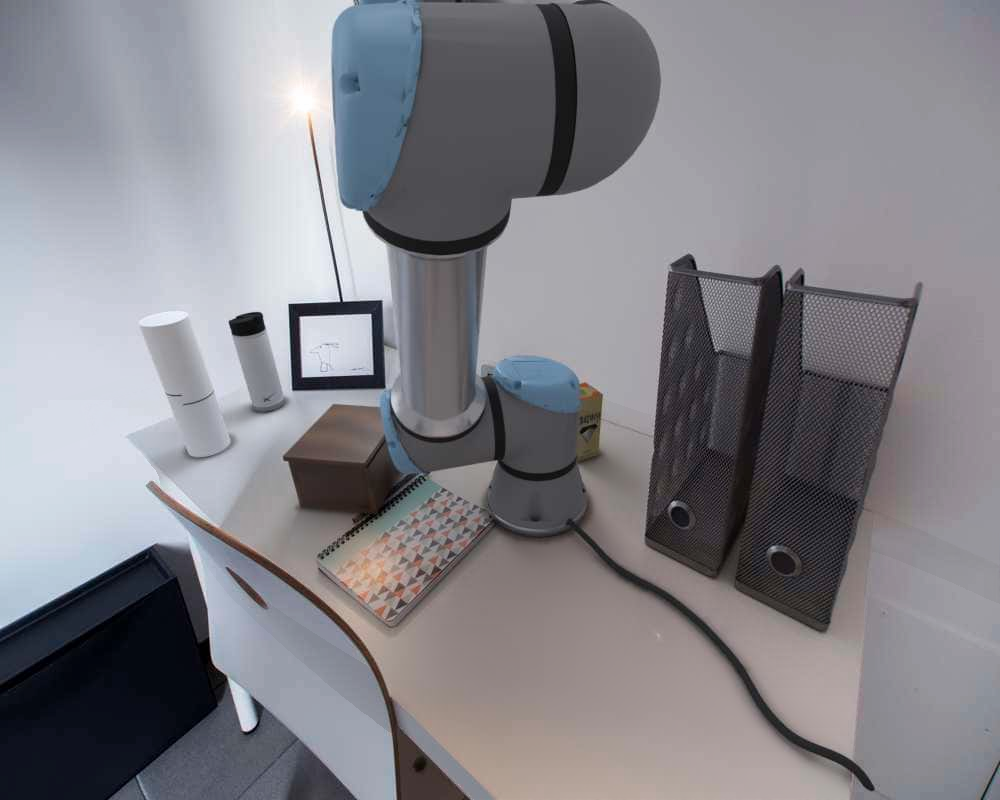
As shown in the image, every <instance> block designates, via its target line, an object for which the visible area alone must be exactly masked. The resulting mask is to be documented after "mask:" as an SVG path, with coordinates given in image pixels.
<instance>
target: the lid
mask: <svg viewBox="0 0 1000 800" xmlns="http://www.w3.org/2000/svg"><path fill="white" fill-rule="evenodd" d="M385 438H386V437H385V433H384V428H383V423H382V417H381V409H380V406H373V405H371V406H370V405H355V404H340V403H333V404H331V405H330V406H329V408H327V410H326V411H324V413H322V415H321V416H319V418H318V419H317V420H316V421H315V422H314V423H313V424H312V425H311V426H310V428H308V429H307V430H306V432H304V433H303V434H302V436H300V437H299V439H298V440H297V441H296V442H295V443H294V444H293V445H292V446H291V447H290V448H289V449H288V450H287V451H286V452H285V453H284V454H283V455H282V460H283V462H288V461H290V462H301V463H313V464H325V465H336V466H348V467H359V468H365V467H366V466H367V464H368V463H369V462H370V460H371V459H372V457H373V456H374V454H375V453H376V451H377V450H378V449H379V447H380V446H381V444H382V443H383V441H384V440H385Z"/></svg>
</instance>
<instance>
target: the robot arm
mask: <svg viewBox="0 0 1000 800" xmlns="http://www.w3.org/2000/svg"><path fill="white" fill-rule="evenodd" d="M352 1H353V5H351V6H349V7H347V8H345V9H344V10H342V11H341V12H340V13H339V15H338V16H337V18H336V19H335V21H334V24H333V26H332V30H331V39H330V67H331V68H330V69H331V71H330V73H331V74H330V75H331V99H332V115H333V116H332V117H333V126H334V146H335V149H334V150H335V152H334V153H335V166H336V175H337V187H338V194H339V200H340V203H341V204H342V206H344V207H345V208H346V209H349V210H354V211H357V212H362V217H363V219H364V222H365V224H366V226H367V227H368V229H369V231H370V232H371V233H372V234H373V236H374V237H376V238H377V239H378V240H380V241H381V243H383V244H385V248H386V256H387V257H386V258H387V266H388V274H389V283H390V284H389V285H390V291H391V301H392V309H393V317H394V325H395V326H394V327H395V336H396V344H397V351H398V353H397V354H398V361H399V370H400V373H399V374H398V375H397V377H396V378H395V380H394V382H393V384H392V387H391V388H389V389H385V390H383V391H382V393H381V394H380V399H379V407H380V409H381V417H382V423H383V428H384V433H385V437H386V440H387V443H388V448H389V452H390V455H391V458H392V461H393V463H394V465H395V467H396V468H397V470H398V471H400V474H402V475H416V474H422V475H426V474H430V473H432V472H438V471H443V470H448V469H449V470H451V469H453V468H454V469H456V468H461V467H466V466H470V465H471V466H472V465H478V464H483V463H488V462H496V464H495V466H494V469H493V473H492V476H491V479H490V481H489V484H488V486H487V491H486V506H487V510H488V513H489V514H490V516H491V518H492V520H494V522H495V523H497V524H498V525H499V526H500V527H502V528H504V529H505V530H507V531H509V532H511V533H514V534H517V535H521V536H526V537H533V538H535V537H536V538H541V537H543V538H544V537H551V536H556V535H560V534H562V533H565V532H567V531H569V530H571V529H573V531H574V532H576V534H577V535H579V537H580V538H581V539H583V541H585V542H586V543H587V545H589V546H590V547H591V548H592V550H594V552H595V553H596V554H597V555H598V557H600V558H601V560H603V561H604V562H605V564H607V565H608V566H609V567H610V568H611V569H613V570H614V571H616V573H618V574H620V575H621V576H622V577H624V578H626V579H628V580H629V581H631V582H633V583H634V584H637V585H639V586H640V587H643V588H645V589H647V590H649V591H650V592H652V593H654V594H655V595H656V596H657V595H658V596H659V597H660V598H662V599H663V600H665V601H667V602H668V603H669V604H671V605H672V606H673V607H674V608H676V609H677V610H679V611H680V612H681V613H682V614H683V615H685V617H687V618H688V619H689V620H690V621H691V622H693V623H694V624H695V625H696V626H697V627H698V629H700V630H701V631H702V632H703V633H704V634H705V635H706V636H707V637H708V638H709V639H710V640H711V641H712V642H713V643H714V645H715V646H716V647H717V648H718V649H719V650H720V652H721V653H722V654H723V655H724V656H725V657H726V658H727V659H728V661H729V662H730V664H731V665H732V666H733V668H734V669H735V670H736V672H737V673H738V675H739V677H740V678H741V680H742V683H743V684H744V685H745V688H746V690H747V691H748V693H749V694H750V696H751V698H752V700H753V701H754V703H755V705H756V706H757V707H758V709H759V710H760V712H761V713H762V714H763V716H764V717H765V718H766V720H767V721H768V722H769V723H770V724H771V725H772V726H773V727H774V728H775V729H776V731H777V732H779V733H780V734H781V735H782V736H783V737H784V738H786V739H787V740H788V741H790V742H791V743H793V744H794V745H796V746H798V747H799V748H801V749H803V750H805V751H807V752H810V753H811V754H814V755H816V756H819V757H822V758H824V759H826V760H829V761H831V762H834V763H836V764H838V765H840V766H842V767H844V768H845V769H846V770H848V771H849V772H850V773H851V774H853V775H854V776H855V778H857V779H858V781H859V782H860V784H861V785H862V786H863V787H864V789H866V791H869V792H874V791H875V786H874V784H873V782H872V781H871V779H870V777H869V776H868V774H867V773H866V772H865V771H864V770H863V769H862V768H861V766H860V765H858V764H857V763H856V762H855V761H853V760H852V759H851V758H849V757H847V756H846V755H844V754H842V753H840V752H838V751H835V750H834V749H831V748H829V747H825V746H823V745H821V744H817V743H816V742H813V741H811V740H808V739H806V738H804V737H802V736H800V735H798V734H797V733H796V732H794V731H793V730H791V729H790V728H789V727H788V726H787V725H785V723H783V722H782V721H781V719H779V718H778V717H777V716H776V714H775V713H774V712H773V711H772V709H771V708H770V707H769V706H768V704H767V703H766V701H765V700H764V698H763V697H762V695H761V694H760V692H759V690H758V689H757V687H756V685H755V683H754V681H753V680H752V678H751V676H750V675H749V673H748V672H747V670H746V668H745V667H744V665H743V664H742V662H741V661H740V659H739V658H738V657H737V656H736V655H735V653H734V652H733V651H732V649H730V648H729V646H728V645H727V644H726V643H725V641H723V640H722V638H720V636H719V635H718V634H717V633H716V632H715V631H714V630H713V629H712V628H711V627H710V626H709V625H708V624H707V623H706V622H705V621H703V619H702V618H700V616H698V615H697V614H696V613H695V612H694V611H693V610H691V609H690V608H689V607H687V606H686V605H685V604H684V603H683V602H681V601H680V600H678V599H677V598H676V597H675V596H673V594H671V593H669V592H667V591H666V590H664V589H663V588H661V587H659V586H657V585H655V584H654V583H652V582H650V581H648V580H646V579H644V578H642V577H640V576H638V575H636V574H634V573H632V572H630V571H629V570H627V569H626V568H625V567H622V566H621V565H619V563H617V562H616V561H614V559H613V558H611V557H610V556H609V555H608V554H607V553H606V552H605V551H604V550H603V549H602V548H601V547H600V546H599V544H598V543H596V541H595V540H594V539H593V538H592V537H591V536H590V535H589V534H588V533H587V532H586V531H584V530H583V528H581V526H580V525H578V524H579V523H580V522H581V521H582V520H583V517H584V516H585V514H586V511H587V503H588V496H587V495H588V494H587V489H586V485H585V483H584V481H583V477H582V474H581V470H580V467H579V465H578V462H577V447H578V431H579V416H580V409H581V401H580V384H581V383H580V379H579V377H578V375H577V374H576V373H575V372H574V371H573V370H572V369H571V368H570V367H569V366H567V365H566V364H564V363H562V362H560V361H556V360H554V359H551V358H549V357H544V356H539V355H531V354H530V355H528V354H527V355H525V354H522V355H519V354H518V355H511V356H507V357H505V358H504V359H501V360H499V361H497V362H496V363H495V365H494V368H493V370H492V375H486V376H485V375H484V376H479V374H478V373H477V365H478V357H479V356H478V355H479V346H480V345H479V344H480V333H481V323H482V322H481V321H482V313H483V312H482V311H483V301H484V288H485V278H486V268H487V257H488V247H489V246H491V245H492V244H493V243H495V242H496V241H497V240H499V238H501V236H502V235H503V233H504V232H505V230H506V228H507V227H508V224H509V221H510V217H511V209H512V203H513V200H515V199H526V198H527V199H528V198H538V197H550V196H564V195H568V194H572V193H576V192H580V191H584V190H587V189H589V188H592V187H593V186H595V185H597V184H599V183H601V182H603V181H604V180H606V179H607V178H609V177H610V176H612V175H613V174H615V173H616V172H617V171H618V170H619V169H620V168H621V167H622V166H624V165H625V164H626V163H627V162H628V161H629V160H630V159H631V157H633V155H634V154H635V152H636V151H637V150H638V148H639V147H640V145H641V144H642V143H643V142H644V140H645V139H646V136H647V135H648V132H649V130H650V129H651V126H652V125H653V124H652V123H653V121H654V120H655V117H656V112H657V109H658V106H659V102H660V95H661V85H662V77H661V67H660V61H659V56H658V53H657V52H658V51H657V50H656V47H655V45H654V42H653V40H652V39H651V36H650V35H649V34H648V33H649V32H648V31H647V30H646V28H645V27H644V26H643V25H642V24H641V23H640V22H639V21H638V20H637V19H636V18H635V17H633V16H632V15H631V14H630V13H628V12H627V11H625V10H623V9H621V8H619V7H618V6H616V5H614V4H613V3H611V2H608V1H605V0H352Z"/></svg>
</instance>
